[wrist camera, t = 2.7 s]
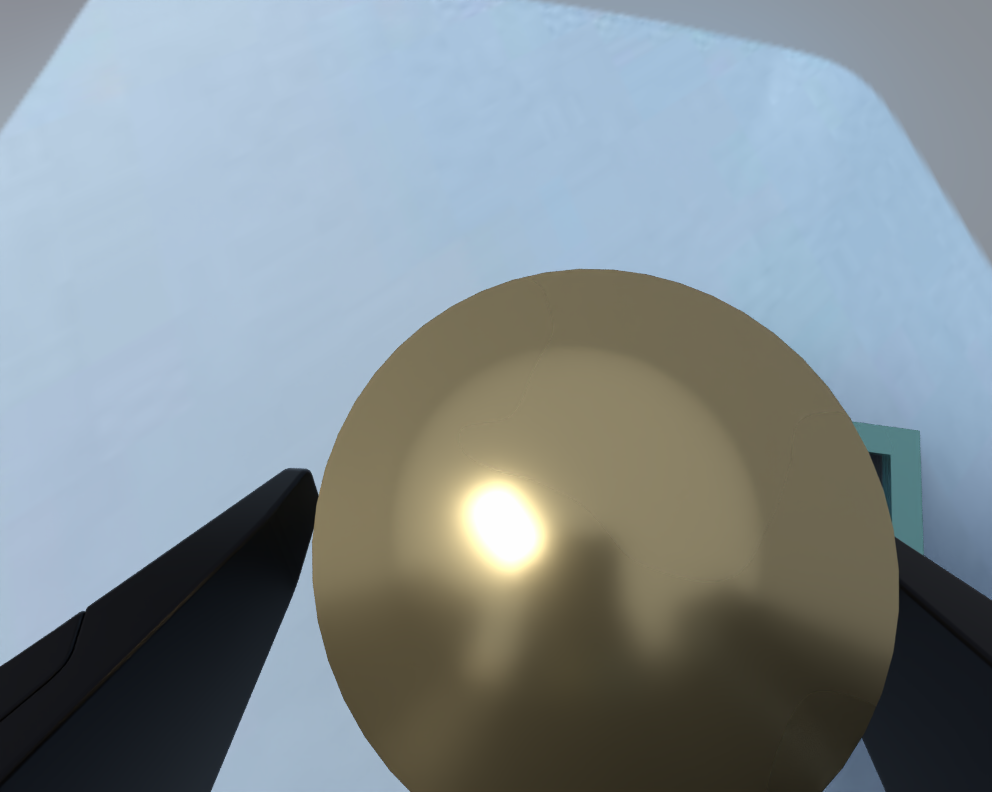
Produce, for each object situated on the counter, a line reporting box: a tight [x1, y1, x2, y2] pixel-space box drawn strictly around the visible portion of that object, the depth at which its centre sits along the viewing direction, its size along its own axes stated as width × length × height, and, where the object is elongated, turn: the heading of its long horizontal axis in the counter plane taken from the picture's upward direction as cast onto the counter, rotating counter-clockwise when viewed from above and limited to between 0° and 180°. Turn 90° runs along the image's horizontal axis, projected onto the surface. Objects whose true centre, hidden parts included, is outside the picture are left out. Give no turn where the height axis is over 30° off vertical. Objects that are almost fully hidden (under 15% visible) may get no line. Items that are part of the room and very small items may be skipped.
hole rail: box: [852, 422, 924, 555], centre depth 14 cm, size 14×7×3 cm, turn 81°
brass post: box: [312, 269, 899, 792], centre depth 10 cm, size 4×4×13 cm
